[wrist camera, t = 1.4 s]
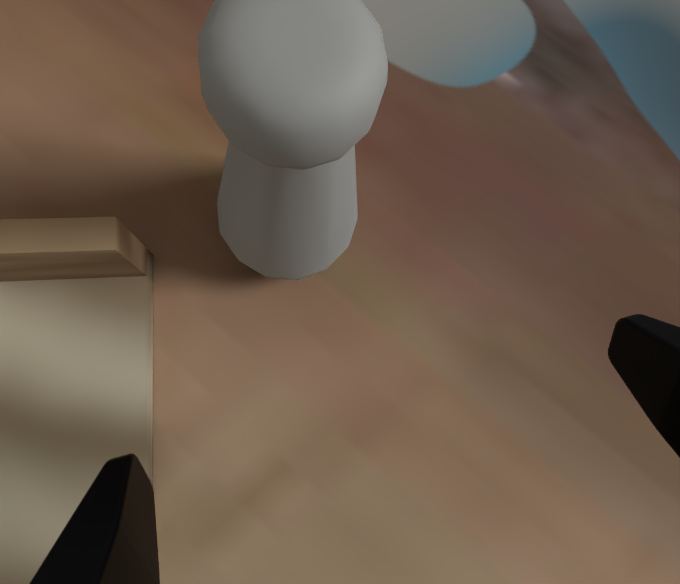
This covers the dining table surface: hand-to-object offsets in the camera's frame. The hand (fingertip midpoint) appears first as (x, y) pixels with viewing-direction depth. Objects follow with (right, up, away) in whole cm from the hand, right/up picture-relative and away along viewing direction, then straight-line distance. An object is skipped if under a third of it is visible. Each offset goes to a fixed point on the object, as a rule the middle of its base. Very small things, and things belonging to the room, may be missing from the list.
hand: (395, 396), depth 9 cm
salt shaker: (-3, +5, +14) cm, 15 cm away
